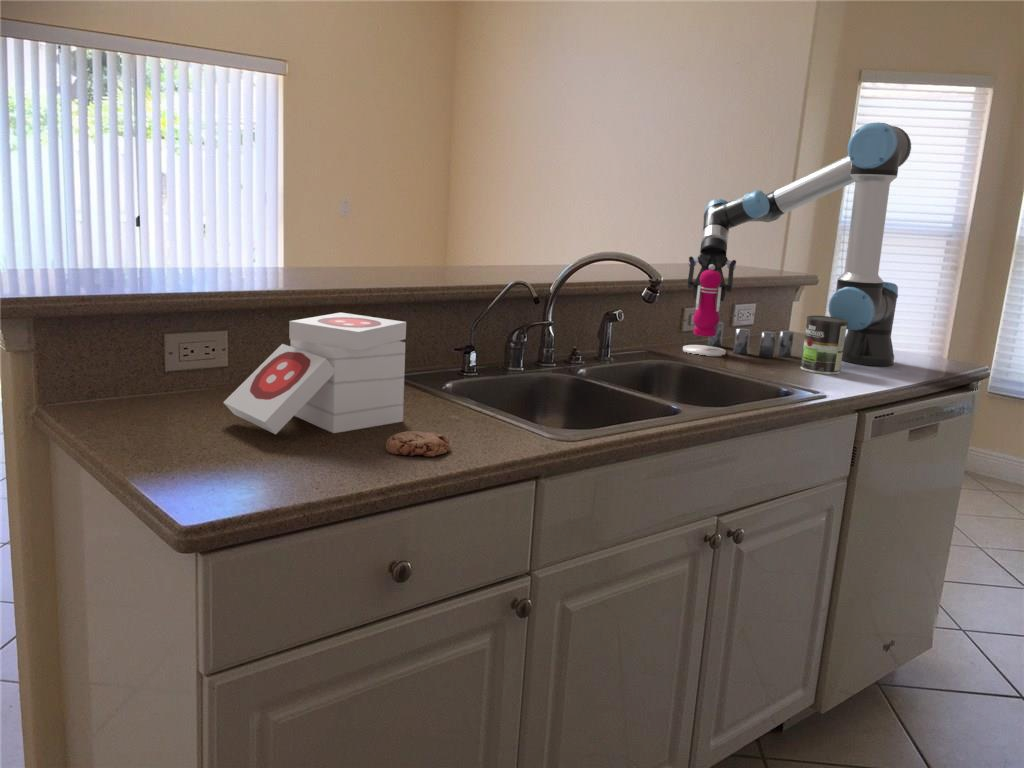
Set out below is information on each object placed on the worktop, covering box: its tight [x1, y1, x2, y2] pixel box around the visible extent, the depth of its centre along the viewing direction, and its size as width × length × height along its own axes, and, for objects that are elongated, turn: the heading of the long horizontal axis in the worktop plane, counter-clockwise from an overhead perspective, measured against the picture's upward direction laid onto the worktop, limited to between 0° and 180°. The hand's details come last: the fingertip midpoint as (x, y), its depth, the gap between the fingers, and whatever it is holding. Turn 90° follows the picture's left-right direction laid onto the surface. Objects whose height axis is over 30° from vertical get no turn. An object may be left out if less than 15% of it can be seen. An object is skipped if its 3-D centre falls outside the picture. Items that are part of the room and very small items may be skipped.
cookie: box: [385, 430, 451, 457], centre depth 148 cm, size 10×11×3 cm
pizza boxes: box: [223, 312, 407, 435], centre depth 160 cm, size 19×30×18 cm, turn 133°
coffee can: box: [799, 315, 848, 376], centre depth 237 cm, size 10×10×14 cm
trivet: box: [682, 344, 727, 357], centre depth 256 cm, size 12×12×1 cm
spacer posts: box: [707, 321, 795, 359], centre depth 261 cm, size 20×18×7 cm
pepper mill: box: [692, 264, 721, 338], centre depth 253 cm, size 7×7×20 cm
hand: (707, 307), depth 249 cm, fingers closed on pepper mill, 5 cm apart
